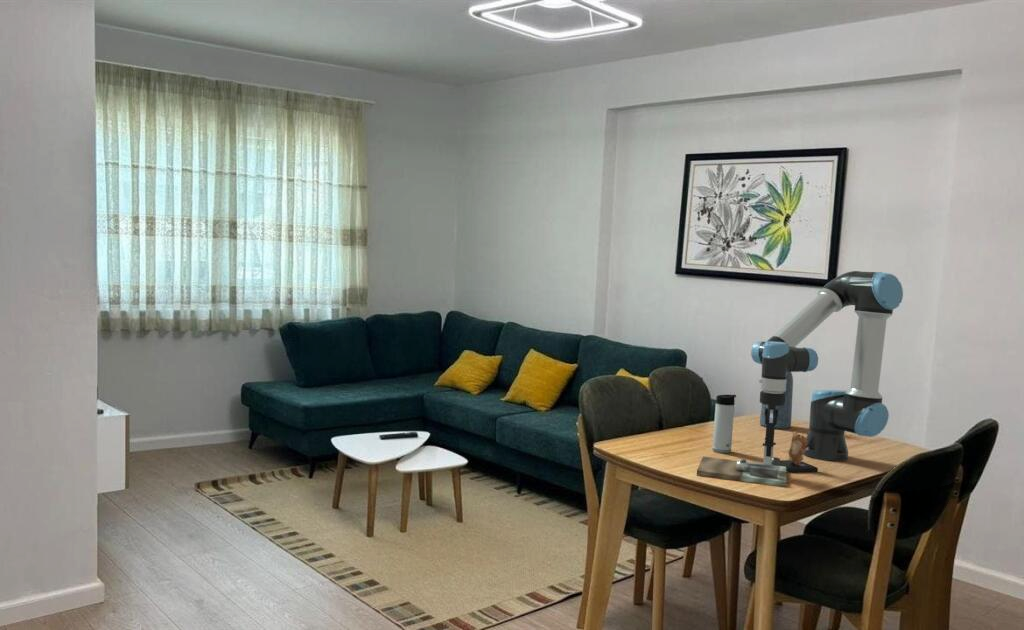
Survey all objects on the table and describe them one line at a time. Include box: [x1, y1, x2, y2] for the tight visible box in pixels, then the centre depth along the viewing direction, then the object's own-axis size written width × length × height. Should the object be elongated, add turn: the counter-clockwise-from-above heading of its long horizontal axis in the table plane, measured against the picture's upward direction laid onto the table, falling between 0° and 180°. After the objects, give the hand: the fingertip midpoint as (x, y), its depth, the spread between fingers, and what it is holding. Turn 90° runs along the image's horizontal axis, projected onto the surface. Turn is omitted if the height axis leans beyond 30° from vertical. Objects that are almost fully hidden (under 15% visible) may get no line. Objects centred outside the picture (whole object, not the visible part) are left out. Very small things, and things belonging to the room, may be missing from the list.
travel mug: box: [711, 394, 737, 454], centre depth 292 cm, size 6×7×20 cm
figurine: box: [779, 430, 819, 474], centre depth 273 cm, size 10×10×12 cm
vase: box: [759, 372, 794, 430], centre depth 343 cm, size 12×12×28 cm
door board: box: [696, 456, 787, 488], centre depth 264 cm, size 26×20×4 cm
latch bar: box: [736, 456, 781, 474], centre depth 260 cm, size 13×4×4 cm, turn 84°
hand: (767, 465), depth 265 cm, fingers closed
